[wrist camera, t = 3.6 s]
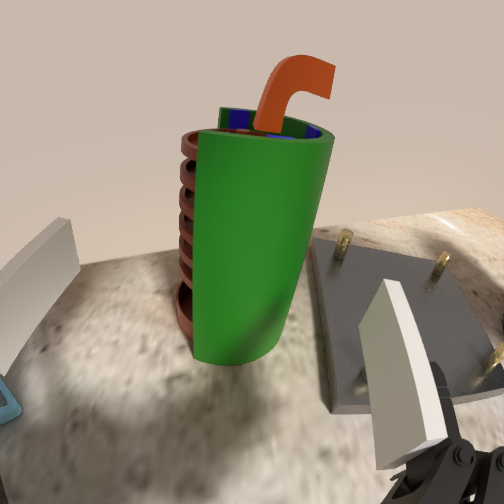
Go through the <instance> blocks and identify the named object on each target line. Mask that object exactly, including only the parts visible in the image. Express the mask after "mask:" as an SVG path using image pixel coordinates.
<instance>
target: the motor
mask: <svg viewBox="0 0 504 504" xmlns="http://www.w3.org/2000/svg"><path fill="white" fill-rule="evenodd" d="M335 67H336V66H334V65H332V64H330V63H327V62H325V61H322V60H320V59H317V58H315V57H311V56H307V55H296V56H291V57H287V58H285V59H283V60H282V61H281V62H279V63H278V65H277V66H276V67H275V68H274V70H273V72H272V73H271V75H270V77H269V79H268V81H267V84H266V86H265V89H264V92H263V94H262V97H261V100H260V103H259V106H258V110H257V111H256V110H248V109H239V108H226V107H220V110H219V119H218V128H217V129H203V130H198V131H192V132H189V133H187V134H185V135H184V136H183V137H182V142H181V152H182V153H183V154H184V155H185V156H186V157H188V158H187V159H186V160H184V161H183V162H182V164H181V166H180V180H181V182H182V184H183V186H182V188H181V189H180V195H179V205H180V208H181V210H182V211H181V213H180V215H179V230H180V233H181V234H180V237H179V252H180V260H179V263H180V274H181V277H182V279H183V280H182V282H181V283H180V285H179V287H178V289H177V294H176V301H177V316H178V323H179V325H180V328H181V330H182V331H183V333H184V334H185V335H186V336H187V337H188V338H189V339H190V340H191V341H193V348H194V359H197V360H199V361H202V362H205V363H209V364H215V365H239V364H244V363H248V362H251V361H254V360H256V359H258V358H260V357H262V356H263V355H265V354H266V353H268V352H269V351H270V350H271V349H272V348H273V347H274V346H275V345H276V343H277V342H278V340H279V339H280V336H281V334H282V331H283V327H284V324H285V321H286V318H287V315H288V312H289V308H290V305H291V302H292V299H293V295H294V292H295V289H296V285H297V282H298V278H299V275H300V272H301V268H302V265H303V261H304V258H305V254H306V251H307V247H308V243H309V240H310V236H311V232H312V229H313V224H314V221H315V217H316V213H317V210H318V206H319V202H320V198H321V194H322V190H323V186H324V182H325V178H326V174H327V170H328V165H329V161H330V157H331V152H332V148H333V144H334V139H335V137H334V135H333V134H332V133H330V132H329V131H327V130H325V129H323V128H321V127H319V126H317V125H314V124H311V123H309V122H306V121H302V120H299V119H295V118H292V117H288V116H284V114H285V110H286V106H287V103H288V101H289V99H290V97H291V96H292V95H293V94H294V93H295V92H297V91H307V92H310V93H312V94H315V95H318V96H320V97H323V98H327V99H330V94H331V89H332V83H333V78H334V73H335Z"/></svg>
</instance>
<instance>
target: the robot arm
mask: <svg viewBox="0 0 504 504" xmlns="http://www.w3.org/2000/svg"><path fill="white" fill-rule="evenodd" d="M80 271H81V268H80V264H79V260H78V256H77V251H76V247H75V241H74V236H73V231H72V226H71V221H70V220H69V219H64V218H59V217H58V218H57V219H56V220H54V221H53V222H52V223H51V224H50V225H49V226H47V227H46V228H45V229H44V230H43V231H42V232H41V233H39V234H38V235H37V236H36V237H35V238H34V239H33V240H32V241H31V242H29V243H28V244H27V245H26V246H25V247H24V248H23V249H22V250H21V251H20V252H19V253H18V254H17V255H16V256H15V257H14V258H13V259H12V260H10V261H9V262H8V264H7V265H5V267H4V268H3V269H2V270H1V271H0V374H2V375H3V376H5V375H6V373H7V371H8V370H9V368H10V367H11V365H12V363H13V362H14V360H15V359H16V357H17V355H18V354H19V352H20V351H21V349H22V348H23V346H24V345H25V343H26V342H27V340H28V339H29V337H30V336H31V335H32V333H33V332H34V330H35V329H36V327H37V326H38V325H39V323H40V322H41V320H42V319H43V318H44V316H45V315H46V314H47V312H48V311H49V310H50V308H51V307H52V306H53V304H54V303H55V302H56V300H57V299H58V298H59V297H60V295H61V294H62V293H63V291H64V290H65V289H66V288H67V286H68V285H69V284H70V283H71V281H72V280H73V279H74V278H75V277H76V275H77V274H78V273H79V272H80ZM358 327H359V333H360V338H361V344H362V349H363V355H364V362H365V368H366V375H367V382H368V389H369V396H370V404H371V413H372V422H373V432H374V443H375V457H376V470H386V469H394V468H397V467H399V466H401V465H403V464H405V463H406V470H404V471H402V472H400V473H398V474H396V475H394V476H393V477H392V478H391V479H390V480H391V481H393V480H395V479H397V478H398V480H397V481H396V482H395V484H394V486H393V487H392V489H391V490H390V492H389V493H388V494H387V496H386V497H385V498H384V500H383V501H382V502H381V504H504V446H500V447H498V448H497V449H495V450H493V451H492V452H490V453H488V452H482V451H477V450H475V449H474V447H473V445H472V444H471V443H470V442H469V441H467V440H465V439H462V438H461V435H460V432H459V428H458V423H457V419H456V415H455V411H454V407H453V403H452V400H451V399H450V393H449V389H448V388H447V382H446V379H445V376H444V373H443V371H442V370H441V368H440V367H439V365H438V364H437V362H430V361H428V358H427V355H426V352H425V349H424V346H423V343H422V340H421V337H420V334H419V331H418V328H417V325H416V322H415V320H414V317H413V314H412V312H411V309H410V306H409V304H408V301H407V299H406V296H405V294H404V291H403V289H402V286H401V284H400V282H398V281H393V280H388V279H383V281H382V283H381V285H380V287H379V289H378V291H377V293H376V295H375V297H374V298H373V300H372V302H371V304H370V306H369V308H368V310H367V312H366V313H365V315H364V317H363V319H362V321H361V322H360V324H359V326H358ZM503 328H504V314H503ZM475 493H476V494H475ZM473 494H475V498H474V501H472V502H470V496H471V495H473ZM0 504H8V500H7V497H6V494H5V491H4V487H3V484H2V480H1V477H0Z"/></svg>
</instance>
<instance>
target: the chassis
mask: <svg viewBox="0 0 504 504" xmlns="http://www.w3.org/2000/svg"><path fill="white" fill-rule="evenodd" d="M352 237H353V232H352V231H350V230H348V229H342V230H341V233H340V236H339V239H338V242H333V241H328V240H322V239H316V238H313V239H312V243H311V246H310V253H311V258H312V264H313V271H314V277H315V283H316V290H317V296H318V303H319V310H320V317H321V324H322V332H323V340H324V348H325V356H326V365H327V374H328V384H329V394H330V405H331V414H372V413H371V404H370V396H369V389H368V382H367V375H366V368H365V362H364V355H363V349H362V344H361V338H360V333H359V327H358V326H359V324H360V322H361V321H362V319H363V317H364V315H365V313H366V312H367V310H368V308H369V306H370V304H371V302H372V300H373V298H374V297H375V295H376V293H377V291H378V289H379V287H380V285H381V283H382V281H383V279H388V280H393V281H398V282H400V284H401V286H402V289H403V291H404V294H405V296H406V299H407V301H408V304H409V306H410V309H411V312H412V314H413V317H414V320H415V322H416V325H417V328H418V331H419V334H420V337H421V340H422V343H423V346H424V349H425V352H426V355H427V358H428V361H430V362H437V364H438V365H439V367H440V368H441V370H442V371H443V373H444V376H445V379H446V382H447V388H448V389H449V393H450V399H451V400H452V403H453V405H456V404H462V403H467V402H472V401H477V400H481V399H486V398H490V397H494V396H498V395H502V394H503V393H504V369H503V367H502V365H501V363H500V362H501V361H502V360H503V359H504V342H501V343H500V345H499V346H498V347H497V348H496V349H495V350H494V348H493V346H492V344H491V342H490V340H489V338H488V336H487V334H486V332H485V330H484V328H483V327H482V325H481V323H480V321H479V319H478V317H477V316H476V314H475V312H474V310H473V309H472V307H471V305H470V303H469V302H468V300H467V298H466V297H465V295H464V294H463V292H462V290H461V289H460V287H459V285H458V284H457V282H456V281H455V279H454V278H453V276H452V275H451V273H450V272H449V270H448V269H447V267H446V266H447V264H448V262H449V261H450V259H451V257H452V255H451V254H450V253H449V252H448V251H445V250H443V252H442V254H441V256H440V258H439V260H438V262H437V261H432V260H427V259H422V258H417V257H412V256H407V255H402V254H397V253H392V252H387V251H382V250H376V249H371V248H366V247H361V246H355V245H350V243H351V240H352Z"/></svg>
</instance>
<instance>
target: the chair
mask: <svg viewBox="0 0 504 504" xmlns="http://www.w3.org/2000/svg"><path fill="white" fill-rule="evenodd" d="M0 391H1V393H2V394H3V396H4V398H5V399H6V401H7V403H8V404H7V405H6V406H3V407H1V408H0V425H2V424H4V423H6V422H8V421H11V420H12V419H14V418H16V417H18V416H19V415H20V414H21V413H22V407H21V406H20V405H19V403H18V402H17V401H16V399H15V398H14V396H13V395H12V394H11V392H10V391H9V389H8V388H7V387H6V385H5V384H4V382H3V381H2V379H1V378H0Z"/></svg>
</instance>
